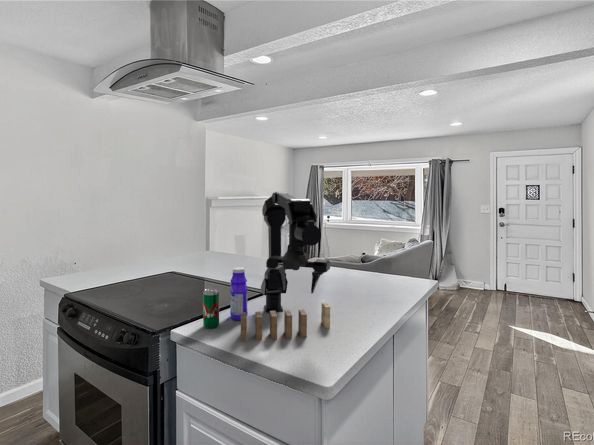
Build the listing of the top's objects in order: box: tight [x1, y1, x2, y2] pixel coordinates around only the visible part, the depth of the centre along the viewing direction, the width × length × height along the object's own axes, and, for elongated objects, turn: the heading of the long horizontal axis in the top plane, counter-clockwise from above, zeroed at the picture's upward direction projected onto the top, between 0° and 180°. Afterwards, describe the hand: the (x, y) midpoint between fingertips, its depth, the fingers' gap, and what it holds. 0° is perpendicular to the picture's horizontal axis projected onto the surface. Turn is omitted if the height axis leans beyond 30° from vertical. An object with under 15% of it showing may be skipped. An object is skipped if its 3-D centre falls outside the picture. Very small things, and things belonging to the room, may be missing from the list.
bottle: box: [229, 266, 248, 321], centre depth 122 cm, size 7×6×17 cm
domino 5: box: [297, 308, 308, 338], centre depth 109 cm, size 5×2×7 cm, turn 11°
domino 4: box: [283, 309, 293, 339], centre depth 108 cm, size 5×2×7 cm, turn 11°
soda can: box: [202, 288, 220, 330], centre depth 114 cm, size 5×5×12 cm
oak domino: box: [320, 301, 331, 329], centre depth 116 cm, size 5×2×7 cm, turn 11°
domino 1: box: [240, 312, 248, 342], centre depth 105 cm, size 5×2×7 cm, turn 11°
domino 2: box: [254, 310, 263, 341], centre depth 106 cm, size 5×2×7 cm, turn 11°
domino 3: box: [269, 311, 278, 340], centre depth 107 cm, size 5×2×7 cm, turn 11°
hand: (297, 291), depth 107 cm, fingers open, 9 cm apart
